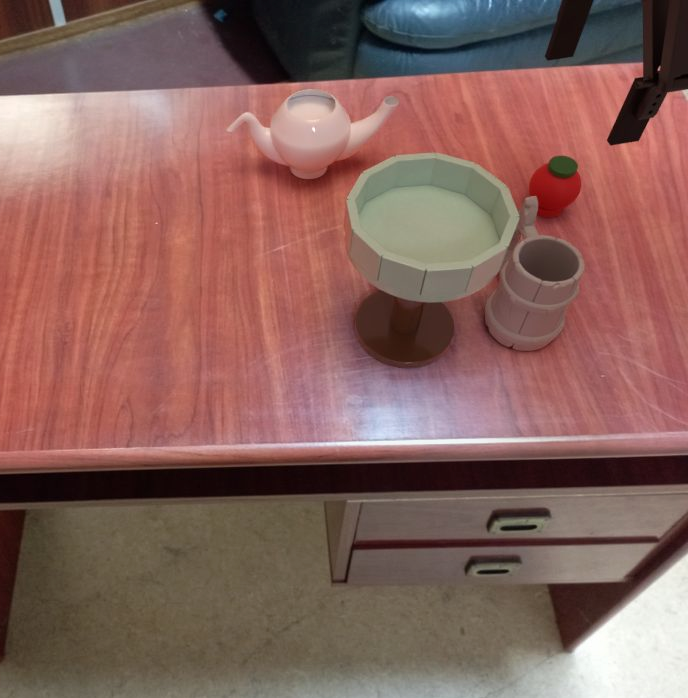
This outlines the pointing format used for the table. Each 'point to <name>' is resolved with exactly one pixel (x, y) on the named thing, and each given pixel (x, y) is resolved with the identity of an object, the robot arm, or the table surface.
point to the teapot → (313, 131)
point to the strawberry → (555, 185)
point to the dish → (423, 249)
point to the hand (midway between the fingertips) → (588, 96)
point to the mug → (533, 286)
